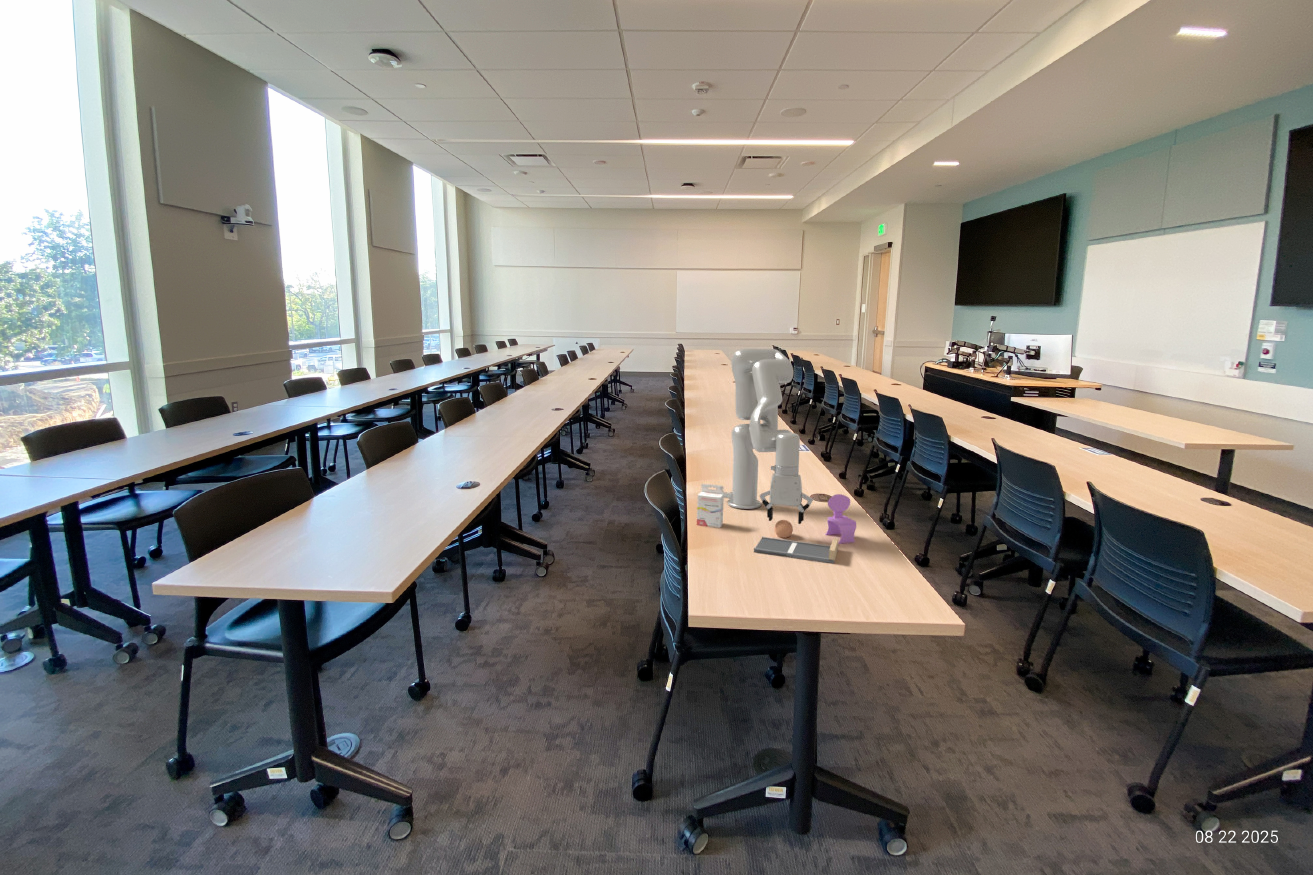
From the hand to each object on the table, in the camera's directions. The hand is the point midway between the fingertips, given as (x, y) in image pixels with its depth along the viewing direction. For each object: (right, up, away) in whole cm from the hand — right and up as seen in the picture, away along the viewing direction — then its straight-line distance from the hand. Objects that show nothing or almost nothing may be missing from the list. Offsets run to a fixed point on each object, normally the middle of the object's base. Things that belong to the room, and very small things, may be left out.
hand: (785, 521), depth 198 cm
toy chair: (+18, -6, 0) cm, 19 cm away
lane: (+1, -8, -11) cm, 13 cm away
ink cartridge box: (-24, -4, +13) cm, 27 cm away
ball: (0, -6, +2) cm, 6 cm away
